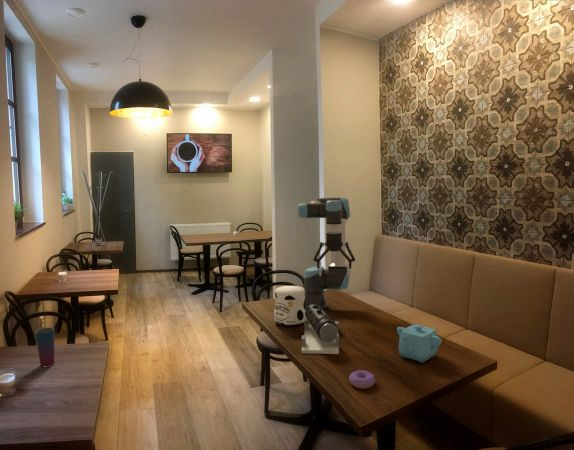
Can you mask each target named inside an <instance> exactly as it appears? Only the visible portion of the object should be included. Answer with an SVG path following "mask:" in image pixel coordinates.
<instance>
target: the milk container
mask: <svg viewBox="0 0 574 450" xmlns="http://www.w3.org/2000/svg"><path fill="white" fill-rule="evenodd" d="M274 291H275V292H274V301H275V302H274V303H275V306H274V310H273V320H274V322H276V324H278V325H281V326H287V327H295V326H299V325H303V324H304V322H305V321H307V318H306V316H305V311H306V307H305V290H304V287H302V286H297V285H285V286H284V285H283V286H278V287H276V288H275V290H274Z"/></svg>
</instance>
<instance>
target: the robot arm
mask: <svg viewBox="0 0 574 450" xmlns="http://www.w3.org/2000/svg"><path fill="white" fill-rule="evenodd" d="M350 211H351V210H350V203H349V199H348V198H346V197H320V198H316V199H312V200H311V201H309V202H308V203H307V202H306V203H305V202H303V203H299V204H298V207H297V214H298V215H297V216H298V217H299V218H300V219H325V220H326V222H325V231H326V233H325V239H326V241H325V242H322V241H320V243H319V247H318V249H317V250H316V253H315V255H314V257H313V258H312V259H313V262H316V266H312V267H308V268H306V269H305V270H304V272H303V274H304V275H303V282H304V284H303V285H304V287H303V288H304V290H305V307H306V308H307V307H308V306H310V305H312V304H317V305H319V306H320V307H321V308H322V309H323V310H325V309H327V308H328V301H327V298H326V295H325V290H329V291H330V290H332V291H333V290H334V291H335V290H336V291H341V290H343V291H344V290H348V289H349V283H350V275H351V269H352V263H353V262H355V261H356V258H355V256H354V254H353V253H352V251H351V248H350V247H349V242H348V241H346V223H347V222H348V221H349V218H350V217H351V212H350ZM324 247H326V248H325V250H324V251H323V252H322V253H321V255H320V252H321V251H322V248H324ZM346 250H347V252H348V254H349V255H348V254H347V253H346ZM329 252H330V263H329V265H327V269H325V267H324V266H322V259H323V258H324V257H325V256H326V255H327V254H328V253H329ZM319 255H320V256H319ZM349 256H350V257H349ZM346 260H347V262H346ZM314 309H316V308H314Z"/></svg>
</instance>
